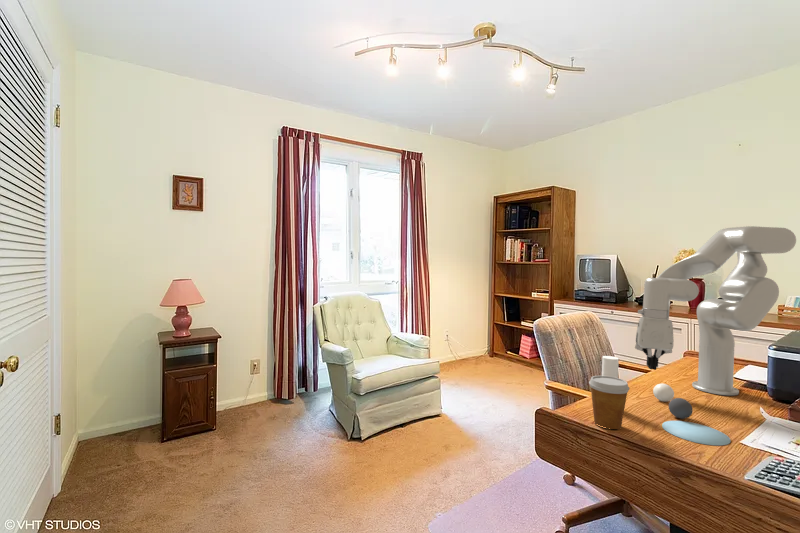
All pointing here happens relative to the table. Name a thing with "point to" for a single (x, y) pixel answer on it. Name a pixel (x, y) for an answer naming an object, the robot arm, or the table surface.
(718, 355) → the robot arm
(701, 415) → the table surface
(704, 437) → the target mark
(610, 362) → the tube
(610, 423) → the disposable coffee cup
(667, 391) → the cue ball
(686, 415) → the object ball
